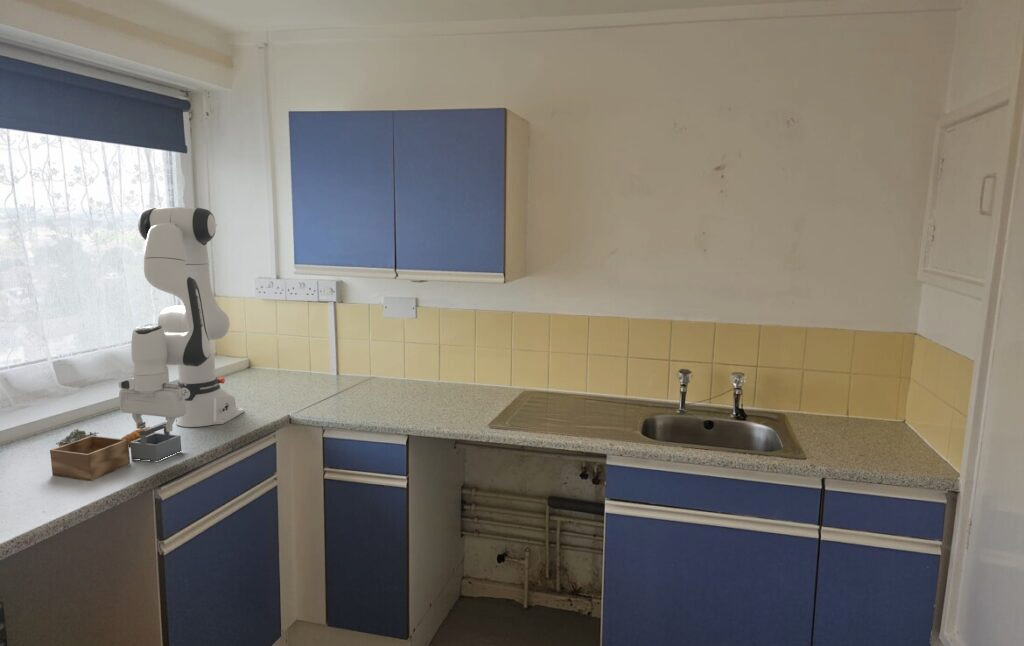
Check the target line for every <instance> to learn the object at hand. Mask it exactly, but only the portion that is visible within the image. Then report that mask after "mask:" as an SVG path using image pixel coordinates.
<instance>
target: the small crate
mask: <svg viewBox="0 0 1024 646" xmlns="http://www.w3.org/2000/svg"><path fill="white" fill-rule="evenodd" d="M166 424H167V421H164V422H160V423H158V424H156V425H154V426H149V427H150V428H147V429H144V428H143V429H144V430H142V431H140V439H137V440H135V441H132V442H130V445H129V446H130V447H129V448H130V457H131V458H130V460H134V459H140V460H139V461H141V460H150V461H159V460H161V459H163V458H165V457H168V456H170V455H173V454H175V453H177V452H180V451H182V439H181V438H182V437H181V434H171V432H164V431H163V433H162V432H161V433H160V432H158V431H161V430H164V428H163V426H165V425H166ZM153 432H155V433H153ZM150 433H153V434H150ZM148 434H150V435H148ZM146 435H148V436H146Z"/></svg>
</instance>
